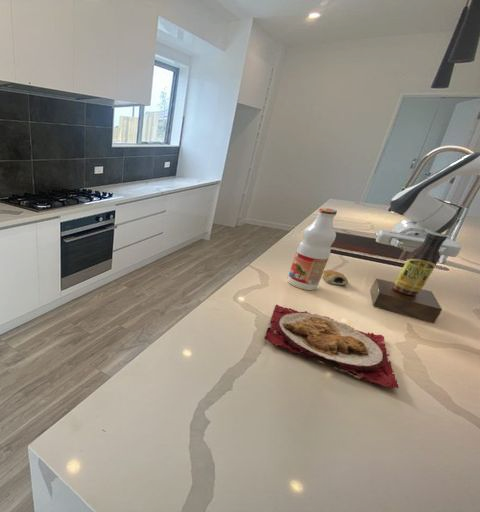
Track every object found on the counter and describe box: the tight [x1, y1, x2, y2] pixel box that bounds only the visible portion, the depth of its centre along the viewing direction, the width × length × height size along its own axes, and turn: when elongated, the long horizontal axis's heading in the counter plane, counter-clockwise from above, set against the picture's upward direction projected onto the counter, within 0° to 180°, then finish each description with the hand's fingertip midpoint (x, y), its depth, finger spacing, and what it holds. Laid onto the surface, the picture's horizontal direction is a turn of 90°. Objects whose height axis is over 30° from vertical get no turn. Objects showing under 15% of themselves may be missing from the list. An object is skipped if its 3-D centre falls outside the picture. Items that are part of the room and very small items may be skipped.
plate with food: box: [263, 304, 400, 389], centre depth 78 cm, size 24×26×4 cm
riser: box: [369, 277, 443, 324], centre depth 97 cm, size 14×14×5 cm
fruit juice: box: [287, 207, 338, 291], centre depth 103 cm, size 9×9×28 cm
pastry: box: [323, 269, 349, 286], centre depth 113 cm, size 9×7×4 cm
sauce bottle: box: [393, 232, 447, 296], centre depth 92 cm, size 7×6×20 cm
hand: (419, 248), depth 97 cm, fingers open, 8 cm apart
